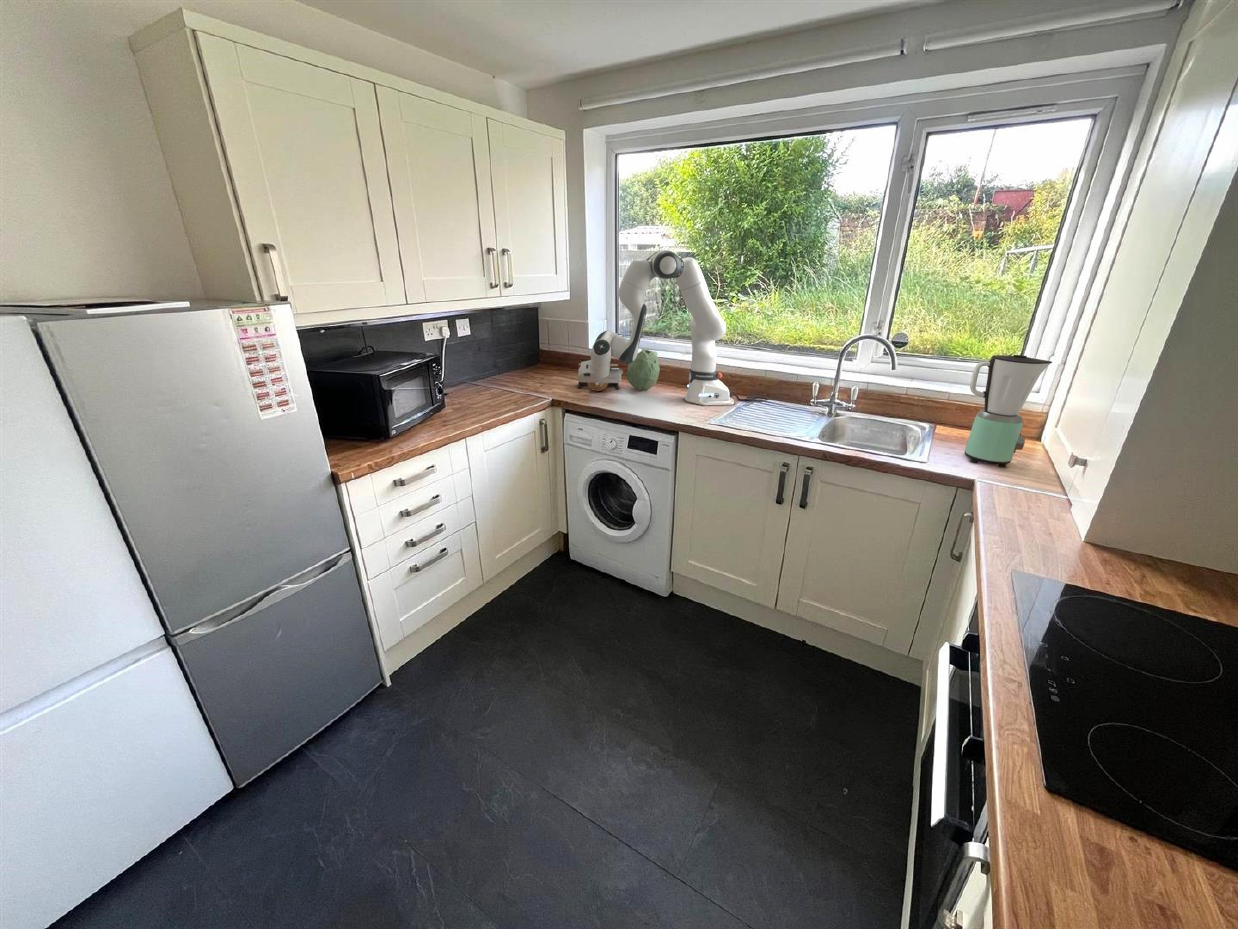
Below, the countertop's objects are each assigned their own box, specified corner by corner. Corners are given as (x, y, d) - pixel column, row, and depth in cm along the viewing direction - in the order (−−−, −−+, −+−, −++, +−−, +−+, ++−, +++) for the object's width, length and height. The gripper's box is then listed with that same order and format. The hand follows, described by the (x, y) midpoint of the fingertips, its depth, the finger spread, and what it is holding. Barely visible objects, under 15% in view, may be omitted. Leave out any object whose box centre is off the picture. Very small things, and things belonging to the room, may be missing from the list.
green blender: (1011, 459, 170) (1046, 355, 157) (1021, 472, 158) (1060, 361, 145) (946, 449, 177) (975, 349, 164) (951, 461, 166) (983, 355, 153)
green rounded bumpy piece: (620, 391, 244) (621, 350, 237) (635, 384, 260) (637, 345, 253) (649, 395, 238) (652, 353, 231) (663, 388, 254) (666, 348, 247)
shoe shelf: (617, 385, 257) (617, 364, 253) (618, 389, 248) (619, 367, 244) (578, 384, 255) (578, 363, 251) (578, 388, 247) (578, 366, 243)
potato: (611, 388, 249) (612, 372, 246) (603, 394, 236) (603, 377, 234) (593, 387, 251) (593, 371, 249) (584, 392, 239) (584, 375, 236)
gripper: (623, 362, 225) (620, 380, 238) (577, 361, 224) (577, 379, 236) (623, 374, 223) (621, 391, 235) (577, 373, 221) (577, 390, 234)
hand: (599, 385), depth 236 cm, fingers closed
